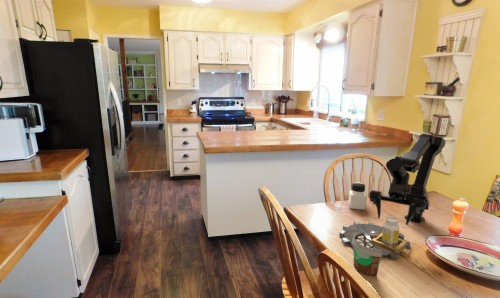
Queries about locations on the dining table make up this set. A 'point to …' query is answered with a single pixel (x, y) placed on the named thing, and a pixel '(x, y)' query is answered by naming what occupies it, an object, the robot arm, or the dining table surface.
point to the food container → (365, 255)
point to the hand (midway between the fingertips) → (392, 221)
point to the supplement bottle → (390, 232)
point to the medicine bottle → (357, 196)
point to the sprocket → (375, 239)
